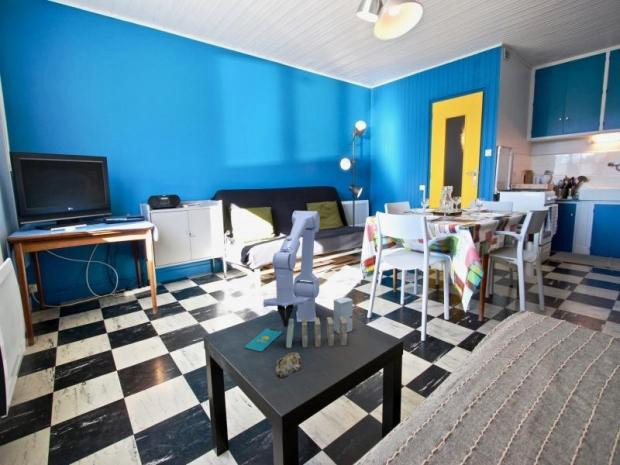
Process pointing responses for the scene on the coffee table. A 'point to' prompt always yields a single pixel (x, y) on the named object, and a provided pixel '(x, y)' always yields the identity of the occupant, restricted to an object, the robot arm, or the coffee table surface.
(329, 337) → the domino
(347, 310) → the skincare box
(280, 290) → the robot arm
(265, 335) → the smartphone
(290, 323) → the domino
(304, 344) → the domino
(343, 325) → the domino
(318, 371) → the coffee table surface
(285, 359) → the mineral rock
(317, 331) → the domino
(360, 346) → the coffee table surface
